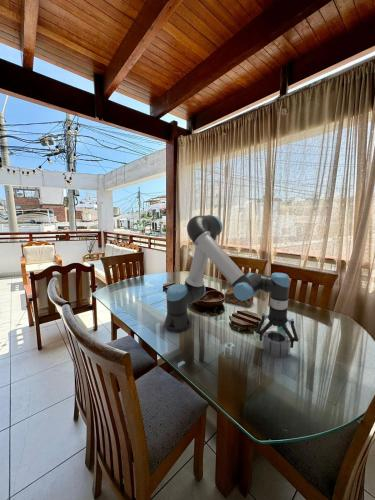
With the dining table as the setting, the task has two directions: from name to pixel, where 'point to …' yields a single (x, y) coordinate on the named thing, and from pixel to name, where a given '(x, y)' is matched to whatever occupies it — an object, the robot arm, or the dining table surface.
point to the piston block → (280, 330)
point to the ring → (276, 344)
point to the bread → (232, 299)
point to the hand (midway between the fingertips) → (275, 350)
